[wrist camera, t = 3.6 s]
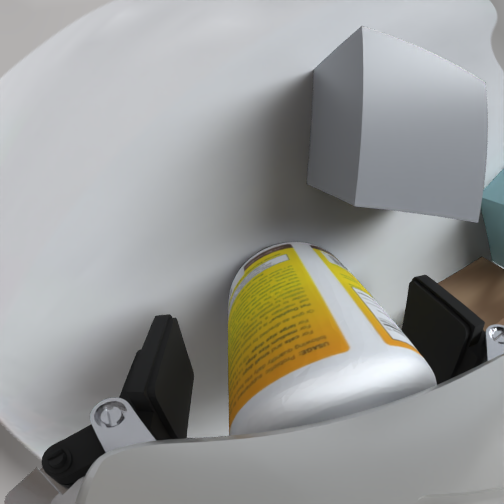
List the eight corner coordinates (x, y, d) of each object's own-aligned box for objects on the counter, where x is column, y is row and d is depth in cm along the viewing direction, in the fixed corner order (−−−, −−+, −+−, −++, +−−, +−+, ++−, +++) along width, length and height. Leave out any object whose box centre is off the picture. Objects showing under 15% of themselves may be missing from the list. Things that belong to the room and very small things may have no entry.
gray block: (412, 95, 10) (485, 82, 5) (405, 195, 12) (478, 222, 7) (313, 70, 10) (362, 25, 5) (305, 183, 11) (354, 205, 7)
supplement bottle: (221, 337, 14) (220, 548, 4) (237, 228, 12) (258, 486, 2) (327, 345, 14) (401, 518, 5) (359, 246, 12) (524, 407, 3)
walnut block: (481, 255, 13) (535, 289, 9) (477, 316, 15) (519, 353, 10) (425, 289, 14) (479, 337, 9) (426, 349, 15) (465, 397, 11)
